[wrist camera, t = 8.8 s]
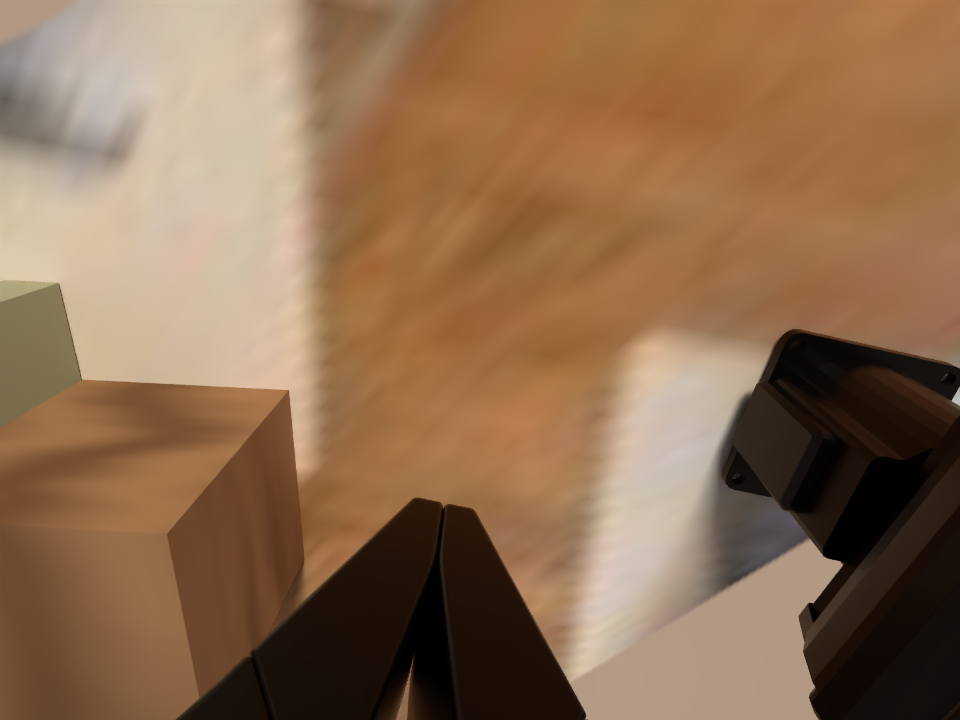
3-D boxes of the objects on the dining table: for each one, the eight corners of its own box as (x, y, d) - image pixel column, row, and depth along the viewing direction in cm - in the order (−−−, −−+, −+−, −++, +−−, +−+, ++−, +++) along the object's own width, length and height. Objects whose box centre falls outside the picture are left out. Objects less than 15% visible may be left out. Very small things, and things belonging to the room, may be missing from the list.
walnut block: (289, 389, 22) (166, 534, 14) (304, 557, 25) (210, 756, 17) (83, 379, 22) (-155, 515, 14) (123, 547, 25) (-56, 738, 17)
